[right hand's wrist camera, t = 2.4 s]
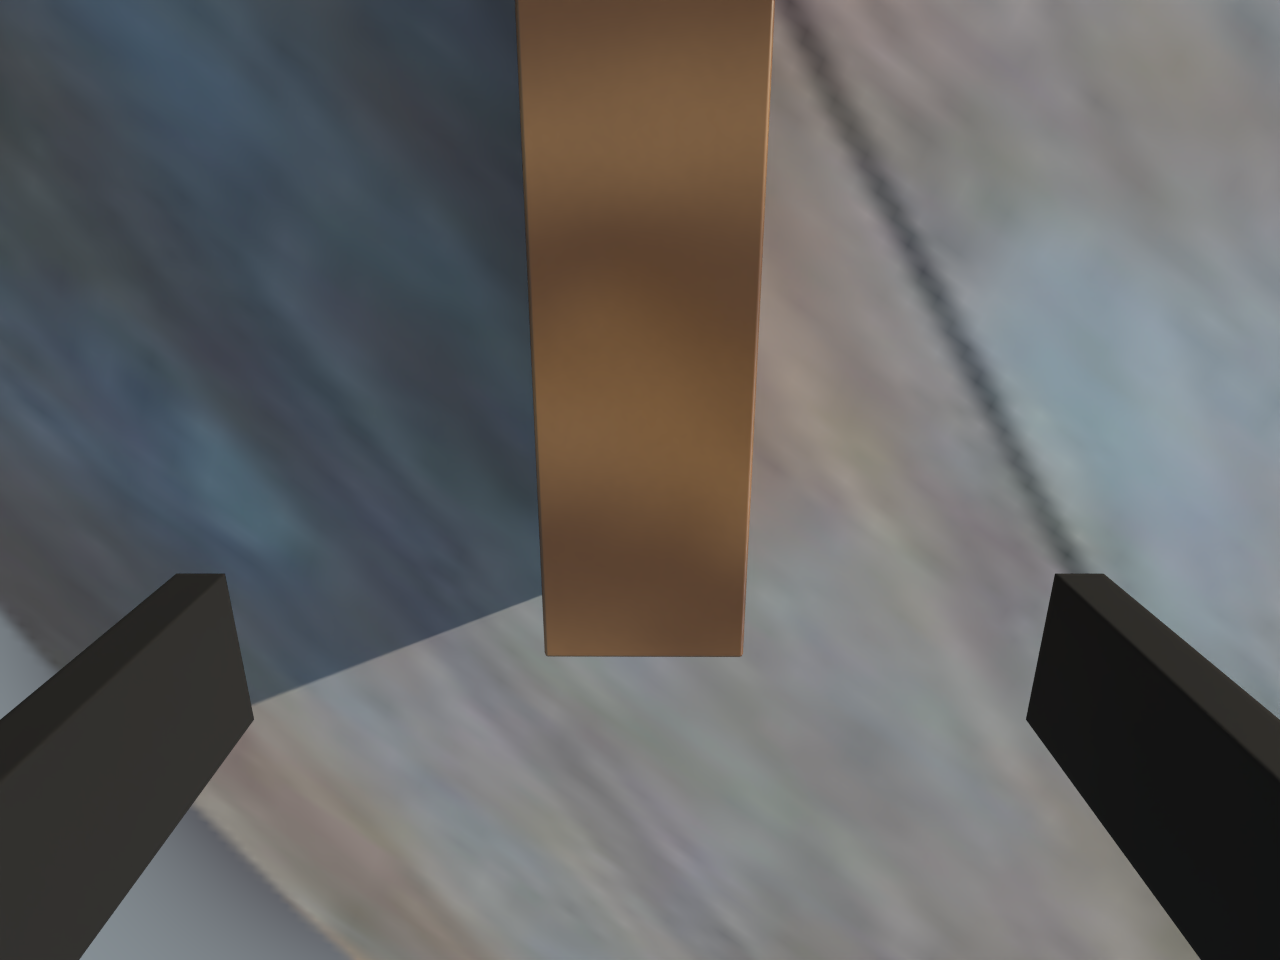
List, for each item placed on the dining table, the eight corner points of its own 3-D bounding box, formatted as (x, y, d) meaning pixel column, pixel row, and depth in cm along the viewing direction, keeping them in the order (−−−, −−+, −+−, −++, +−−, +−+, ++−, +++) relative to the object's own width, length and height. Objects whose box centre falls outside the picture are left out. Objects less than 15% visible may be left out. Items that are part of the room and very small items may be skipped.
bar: (715, 530, 27) (743, 658, 19) (572, 530, 27) (544, 657, 19) (750, -497, 18) (824, -977, 11) (540, -496, 18) (469, -975, 11)
